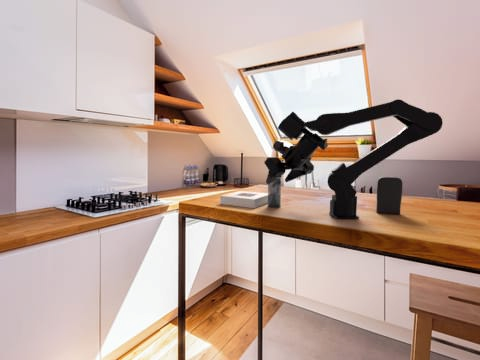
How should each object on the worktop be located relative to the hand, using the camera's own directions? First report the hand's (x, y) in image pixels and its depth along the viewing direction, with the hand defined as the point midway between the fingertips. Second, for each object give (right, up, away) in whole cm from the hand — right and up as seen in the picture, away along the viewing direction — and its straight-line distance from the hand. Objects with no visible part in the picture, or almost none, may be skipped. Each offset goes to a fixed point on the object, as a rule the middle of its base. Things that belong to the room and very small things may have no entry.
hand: (276, 182), depth 93 cm
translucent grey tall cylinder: (-1, -9, +2) cm, 9 cm away
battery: (+34, -10, -7) cm, 36 cm away
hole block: (-10, -8, +9) cm, 15 cm away
